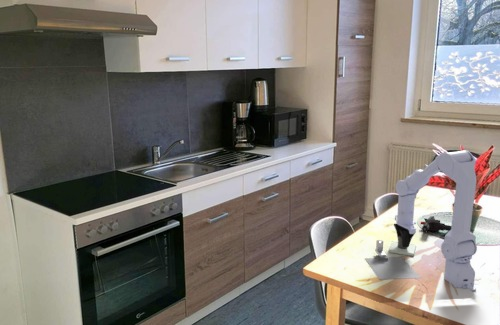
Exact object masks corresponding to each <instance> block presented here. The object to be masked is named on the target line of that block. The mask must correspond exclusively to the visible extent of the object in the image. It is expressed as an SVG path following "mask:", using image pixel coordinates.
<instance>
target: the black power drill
mask: <svg viewBox="0 0 500 325" xmlns="http://www.w3.org/2000/svg"><path fill="white" fill-rule="evenodd" d="M420 225H423V226H422V227H421V231H422V234H423V233H424V234H426V233H427V232H428V231H431V232H434V231H435V233H439V231H443V232H444V231H447V232H449V231H450V230H451V226H452V225H448V224H445V223H442V222H441V220H440V219H436V218H435V216H433V215H431V216H429V217H428V218H423V221H422V220H421V221H420Z"/></svg>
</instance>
